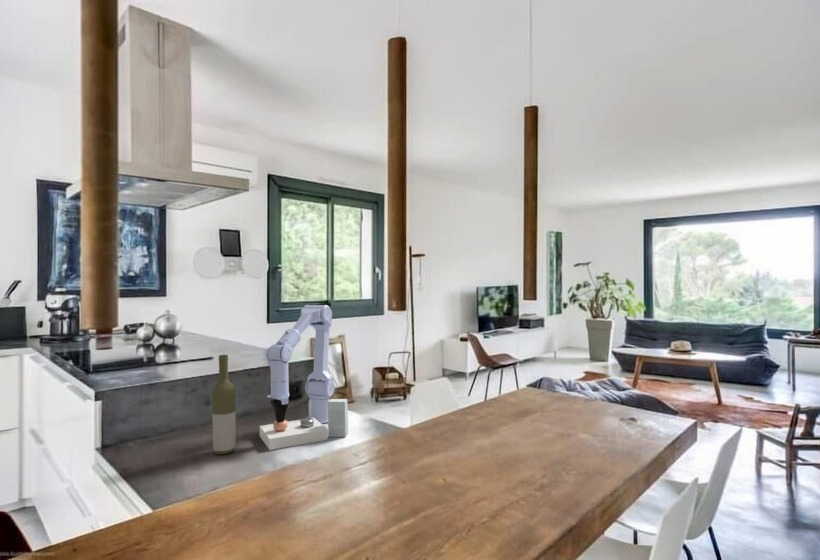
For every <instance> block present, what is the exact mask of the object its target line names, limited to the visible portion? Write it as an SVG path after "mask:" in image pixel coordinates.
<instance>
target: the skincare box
mask: <svg viewBox="0 0 820 560" xmlns="http://www.w3.org/2000/svg"><path fill="white" fill-rule="evenodd" d="M348 410H349V409H348V398H331V399H330V400H329V401H328V423H327V424H328V425H327V426H328V427H327V429H328V438H345V437H347V435H349V411H348Z"/></svg>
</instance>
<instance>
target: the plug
mask: <svg viewBox="0 0 820 560" xmlns="http://www.w3.org/2000/svg"><path fill="white" fill-rule="evenodd" d="M299 420H300V419H299ZM313 426H314V419H312V418H307V417H305V418H301V420H300V427H302V428H309V427H313Z"/></svg>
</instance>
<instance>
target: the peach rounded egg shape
mask: <svg viewBox="0 0 820 560" xmlns="http://www.w3.org/2000/svg"><path fill="white" fill-rule="evenodd" d="M287 421H288V420H287V419H284V422H279V423H278V422H277V421H276V420H274V421H273V423H272V424H273V429H275V430H278V432H282V431H283V429H286V428H287Z"/></svg>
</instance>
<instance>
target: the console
mask: <svg viewBox="0 0 820 560" xmlns="http://www.w3.org/2000/svg"><path fill="white" fill-rule="evenodd" d="M301 419H302V418H301ZM301 419H296V420H294V419H293V420H289V421H288V420H287V428H286V429H283V431H282V432H278V430H275V429H273V423H269V424H264V425H259V437H260V439H261V440H262V441H263V444H265V445H266V447H267V449H268V450H269V451H273V450H278V449H285V448H290V447H295V446H299V445H300V446H301V445H305V444H310V443H311V444H312V443H317V442H318V443H319V442H322V441H326V440H329V434H328V427H326V426H325V425H324V424H323V423H322V424H321V423H320V422H319V421H317V420H316V419H315V418H314V417H313V418H312V419H314V426H313V427H309V428H302V427H300V420H301Z"/></svg>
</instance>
